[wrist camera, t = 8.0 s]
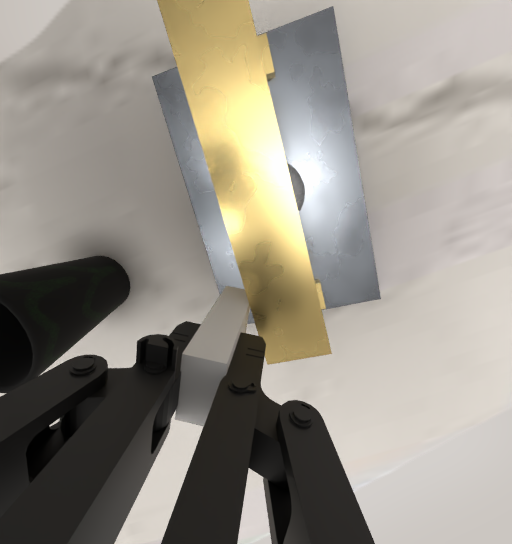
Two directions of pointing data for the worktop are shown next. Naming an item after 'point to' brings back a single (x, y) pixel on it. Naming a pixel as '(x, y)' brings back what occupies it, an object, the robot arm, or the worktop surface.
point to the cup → (53, 312)
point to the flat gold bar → (248, 170)
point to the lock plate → (293, 161)
